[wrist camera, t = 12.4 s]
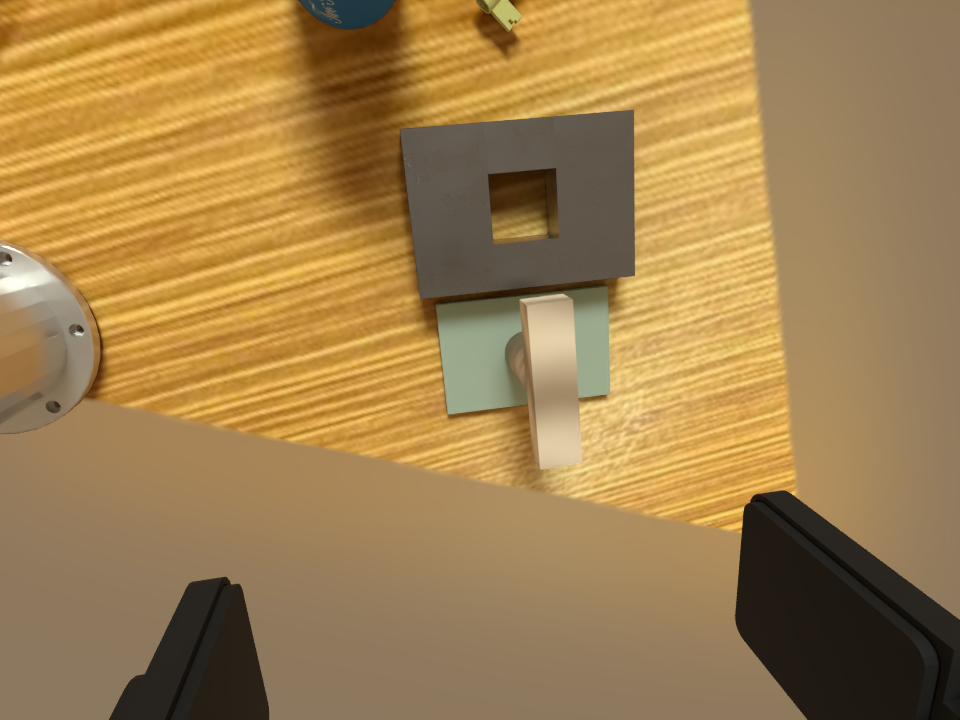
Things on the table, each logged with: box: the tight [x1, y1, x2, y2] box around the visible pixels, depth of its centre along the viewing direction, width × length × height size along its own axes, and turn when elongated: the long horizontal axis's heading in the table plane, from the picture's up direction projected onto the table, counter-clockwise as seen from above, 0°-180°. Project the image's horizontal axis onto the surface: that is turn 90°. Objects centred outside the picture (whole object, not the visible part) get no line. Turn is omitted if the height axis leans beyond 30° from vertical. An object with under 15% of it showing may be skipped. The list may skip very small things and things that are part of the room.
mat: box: [435, 285, 610, 414], centre depth 41 cm, size 12×8×1 cm, turn 95°
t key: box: [505, 294, 582, 470], centre depth 37 cm, size 10×3×8 cm, turn 6°
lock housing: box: [400, 110, 635, 299], centre depth 37 cm, size 14×10×3 cm
